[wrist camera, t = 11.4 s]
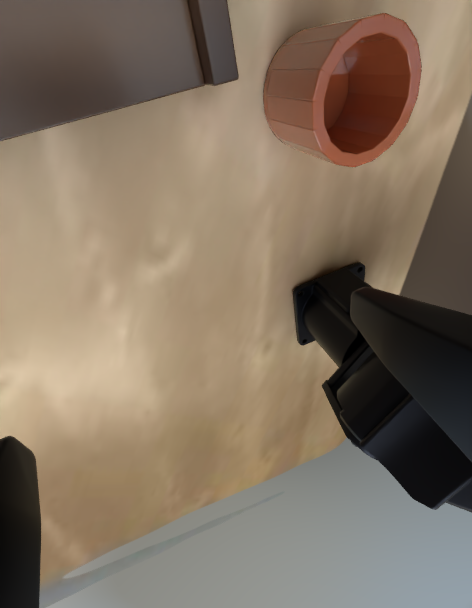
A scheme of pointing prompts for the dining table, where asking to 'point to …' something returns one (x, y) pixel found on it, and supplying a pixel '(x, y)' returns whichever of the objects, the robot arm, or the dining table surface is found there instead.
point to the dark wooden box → (105, 56)
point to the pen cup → (344, 88)
